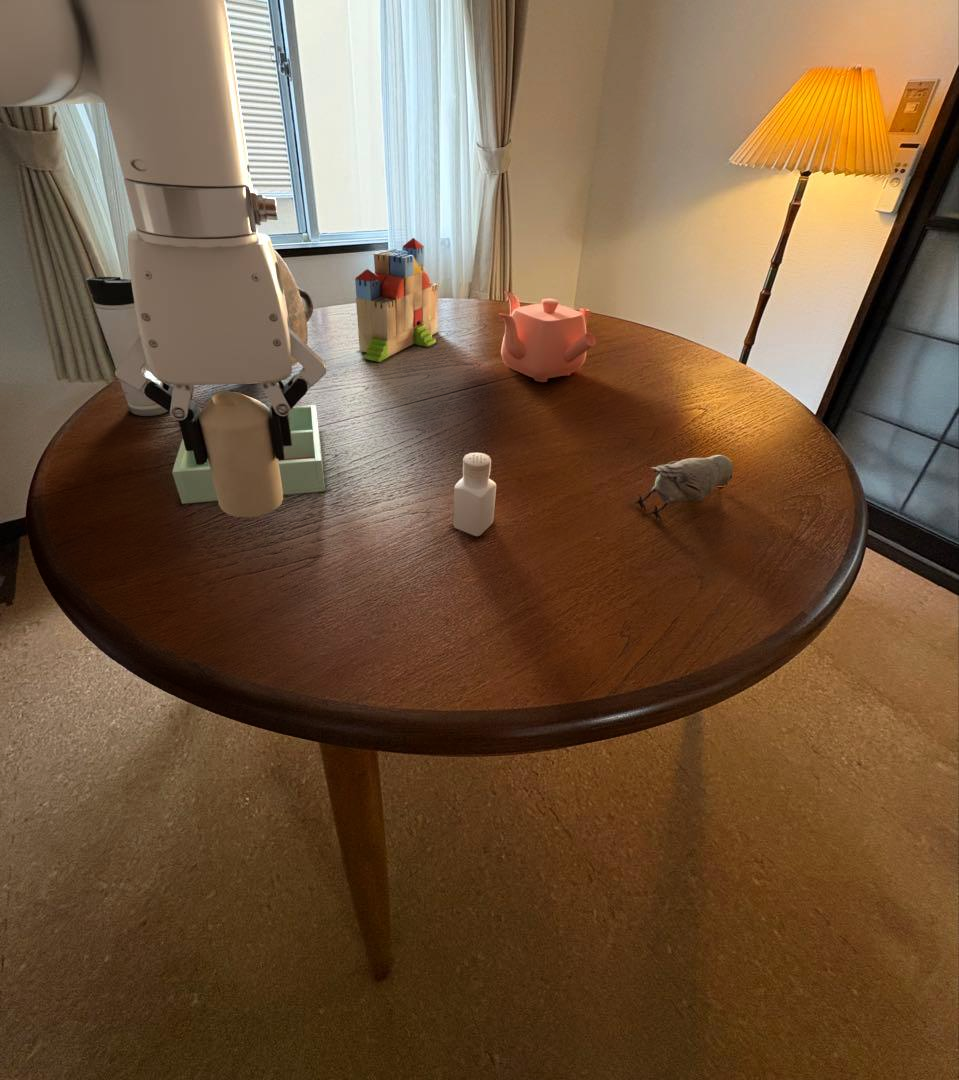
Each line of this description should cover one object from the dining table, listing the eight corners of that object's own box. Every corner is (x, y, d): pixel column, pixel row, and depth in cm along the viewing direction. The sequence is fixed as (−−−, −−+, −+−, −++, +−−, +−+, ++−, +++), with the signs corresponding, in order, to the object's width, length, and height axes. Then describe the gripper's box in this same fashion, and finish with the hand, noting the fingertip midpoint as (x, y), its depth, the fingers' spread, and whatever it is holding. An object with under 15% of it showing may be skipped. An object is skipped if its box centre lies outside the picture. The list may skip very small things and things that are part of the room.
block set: (393, 366, 112) (389, 260, 100) (335, 352, 116) (325, 249, 104) (457, 331, 132) (460, 240, 121) (406, 320, 137) (404, 231, 125)
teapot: (492, 383, 108) (498, 308, 99) (499, 352, 122) (505, 284, 114) (587, 393, 107) (601, 318, 98) (582, 360, 121) (594, 292, 113)
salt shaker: (467, 513, 72) (471, 447, 66) (494, 523, 70) (500, 457, 65) (450, 528, 69) (453, 460, 63) (478, 539, 68) (483, 471, 62)
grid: (181, 504, 70) (171, 472, 67) (198, 440, 83) (190, 411, 80) (325, 491, 74) (321, 460, 71) (319, 432, 87) (315, 404, 85)
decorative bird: (736, 497, 79) (755, 450, 75) (656, 529, 72) (671, 479, 67) (706, 480, 83) (722, 434, 78) (626, 508, 75) (639, 459, 71)
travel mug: (120, 414, 88) (71, 277, 76) (146, 398, 93) (105, 268, 81) (156, 419, 88) (114, 282, 75) (181, 403, 93) (145, 272, 81)
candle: (296, 495, 52) (282, 393, 46) (253, 525, 48) (232, 416, 42) (250, 479, 54) (230, 378, 48) (205, 506, 50) (177, 399, 44)
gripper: (325, 212, 42) (341, 430, 53) (64, 198, 38) (139, 440, 49) (331, 228, 37) (348, 470, 47) (25, 215, 32) (120, 484, 43)
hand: (242, 452), depth 48 cm, fingers closed on candle, 5 cm apart
